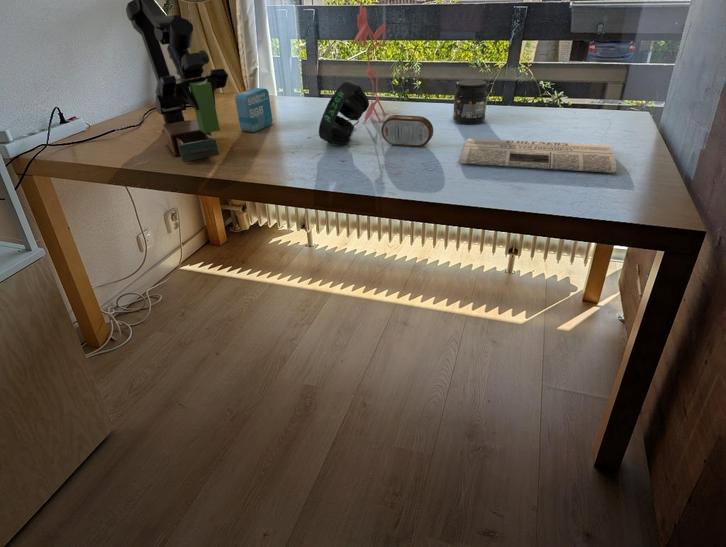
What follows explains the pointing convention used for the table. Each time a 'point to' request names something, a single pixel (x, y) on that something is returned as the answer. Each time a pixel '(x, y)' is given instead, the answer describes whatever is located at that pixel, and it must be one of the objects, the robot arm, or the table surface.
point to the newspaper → (539, 155)
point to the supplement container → (470, 101)
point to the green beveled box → (205, 106)
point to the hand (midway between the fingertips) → (206, 107)
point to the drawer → (196, 146)
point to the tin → (407, 130)
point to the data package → (254, 109)
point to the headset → (343, 113)
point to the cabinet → (179, 132)
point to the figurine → (361, 36)
